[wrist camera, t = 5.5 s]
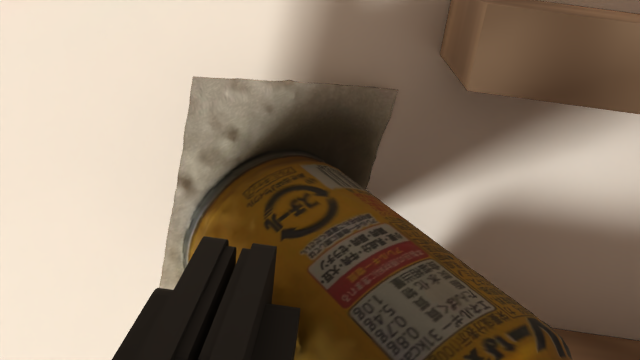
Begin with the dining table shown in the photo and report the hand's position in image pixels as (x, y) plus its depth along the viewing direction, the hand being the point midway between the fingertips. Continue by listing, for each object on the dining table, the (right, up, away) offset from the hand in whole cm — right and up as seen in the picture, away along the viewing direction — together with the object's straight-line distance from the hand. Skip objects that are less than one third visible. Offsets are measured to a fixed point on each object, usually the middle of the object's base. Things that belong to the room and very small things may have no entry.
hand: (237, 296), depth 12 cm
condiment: (0, +2, +5) cm, 6 cm away
